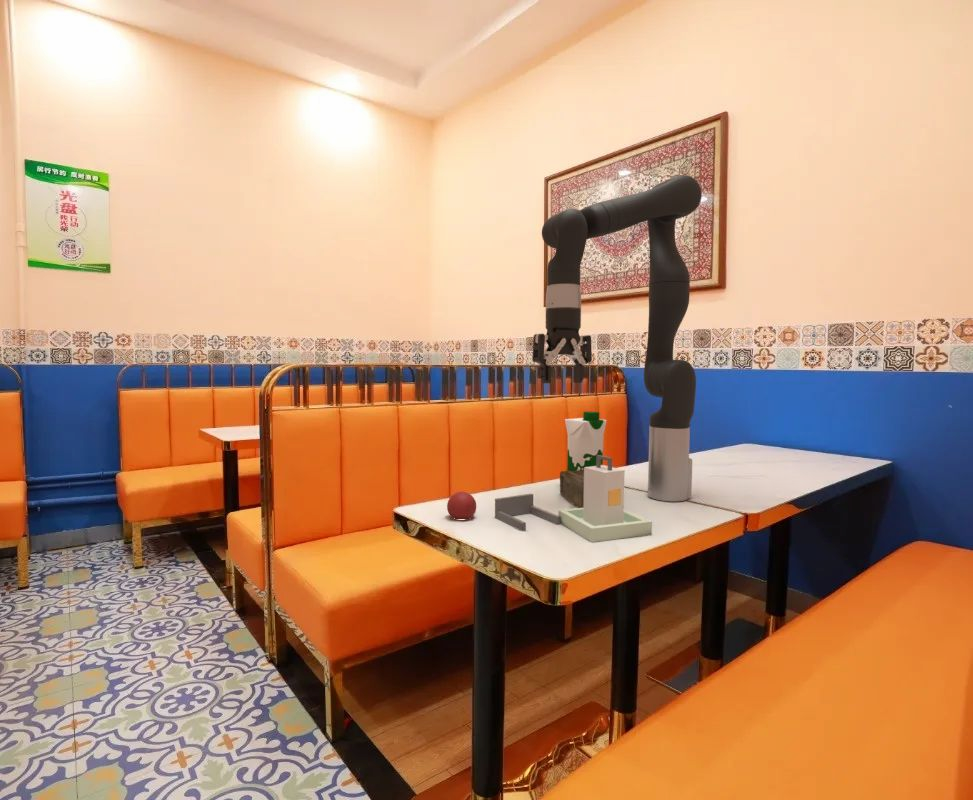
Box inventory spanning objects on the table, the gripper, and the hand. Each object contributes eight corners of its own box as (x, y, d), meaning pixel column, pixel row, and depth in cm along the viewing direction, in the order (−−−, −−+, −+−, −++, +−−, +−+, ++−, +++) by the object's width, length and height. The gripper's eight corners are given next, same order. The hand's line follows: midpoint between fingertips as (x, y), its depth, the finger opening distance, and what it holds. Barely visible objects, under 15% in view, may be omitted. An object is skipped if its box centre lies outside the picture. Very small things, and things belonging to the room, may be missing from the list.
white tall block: (602, 518, 109) (603, 453, 108) (624, 526, 104) (625, 457, 103) (583, 521, 106) (584, 455, 106) (604, 530, 101) (605, 460, 100)
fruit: (451, 531, 110) (459, 502, 106) (441, 511, 114) (449, 483, 110) (478, 526, 112) (487, 498, 108) (467, 507, 117) (476, 480, 113)
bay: (531, 511, 117) (531, 493, 116) (560, 523, 108) (560, 504, 107) (494, 517, 112) (495, 498, 112) (522, 530, 103) (522, 510, 103)
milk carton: (583, 493, 133) (584, 413, 132) (560, 486, 141) (560, 410, 139) (609, 489, 138) (610, 412, 137) (584, 482, 146) (585, 409, 144)
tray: (613, 516, 113) (613, 504, 113) (651, 534, 101) (651, 521, 101) (558, 522, 109) (558, 510, 109) (591, 542, 97) (591, 528, 97)
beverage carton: (585, 517, 114) (585, 486, 113) (558, 495, 132) (558, 469, 132) (620, 515, 115) (621, 485, 114) (588, 494, 134) (589, 468, 133)
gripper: (546, 303, 108) (545, 384, 109) (600, 307, 115) (599, 383, 116) (525, 307, 114) (525, 383, 115) (578, 310, 121) (577, 382, 122)
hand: (562, 383), depth 116 cm, fingers open, 8 cm apart
